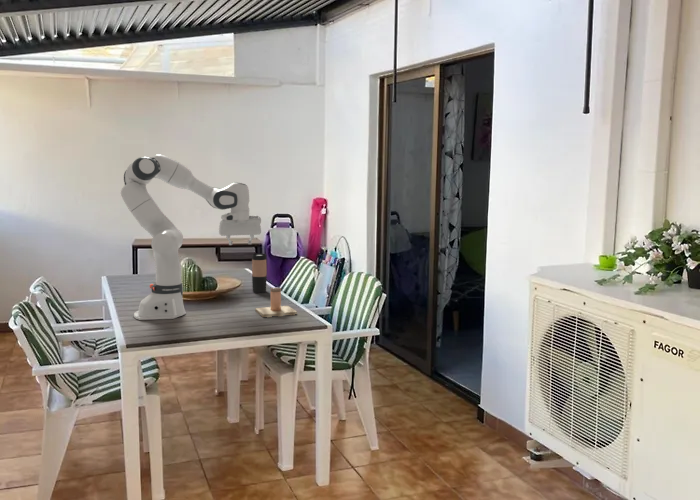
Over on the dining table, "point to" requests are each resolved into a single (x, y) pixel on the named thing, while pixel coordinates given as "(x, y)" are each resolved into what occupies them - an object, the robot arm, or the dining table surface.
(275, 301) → the terracotta jar
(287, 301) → the dining table surface
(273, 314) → the birch board
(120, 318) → the dining table surface
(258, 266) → the travel mug
